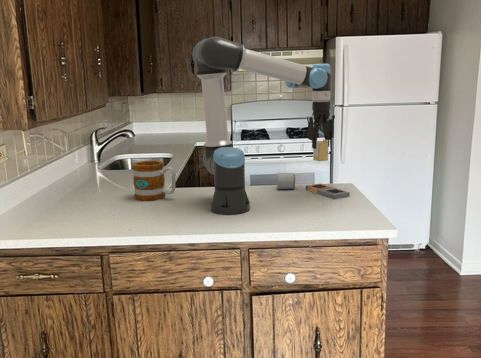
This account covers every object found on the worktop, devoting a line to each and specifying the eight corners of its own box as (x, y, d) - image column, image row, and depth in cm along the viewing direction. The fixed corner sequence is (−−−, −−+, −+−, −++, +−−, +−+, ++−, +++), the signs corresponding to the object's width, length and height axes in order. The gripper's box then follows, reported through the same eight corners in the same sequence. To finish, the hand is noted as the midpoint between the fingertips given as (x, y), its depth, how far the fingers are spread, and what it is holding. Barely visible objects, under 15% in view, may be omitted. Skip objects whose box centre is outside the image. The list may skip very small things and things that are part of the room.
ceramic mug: (295, 190, 207) (295, 173, 206) (277, 190, 208) (277, 174, 206) (293, 185, 218) (293, 169, 216) (276, 185, 218) (276, 169, 217)
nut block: (319, 161, 200) (319, 143, 199) (313, 159, 204) (313, 141, 203) (327, 160, 202) (328, 142, 201) (321, 158, 206) (321, 140, 205)
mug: (128, 200, 198) (125, 165, 195) (145, 192, 210) (143, 159, 207) (168, 203, 191) (166, 167, 187) (184, 195, 203) (182, 162, 200)
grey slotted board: (334, 199, 192) (334, 194, 191) (305, 189, 209) (305, 185, 208) (349, 196, 195) (349, 191, 195) (320, 187, 212) (320, 183, 212)
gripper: (309, 102, 191) (309, 158, 196) (343, 100, 199) (342, 154, 204) (299, 101, 197) (299, 156, 202) (331, 99, 205) (331, 152, 210)
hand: (320, 155), depth 203 cm, fingers closed on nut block, 4 cm apart
